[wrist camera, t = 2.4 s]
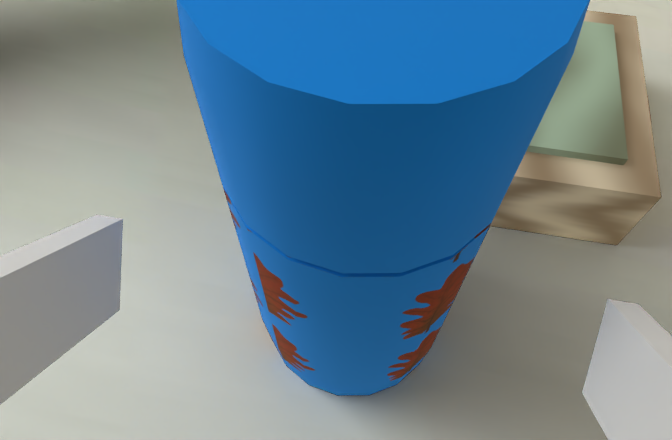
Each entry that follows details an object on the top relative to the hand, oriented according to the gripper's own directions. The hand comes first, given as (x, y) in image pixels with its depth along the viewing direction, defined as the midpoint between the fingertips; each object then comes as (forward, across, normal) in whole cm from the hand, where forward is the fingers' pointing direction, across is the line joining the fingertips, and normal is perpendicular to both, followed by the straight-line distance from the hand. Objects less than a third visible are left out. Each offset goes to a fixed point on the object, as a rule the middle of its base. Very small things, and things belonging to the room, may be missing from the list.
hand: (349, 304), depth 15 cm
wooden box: (+30, +8, +3) cm, 32 cm away
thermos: (+19, -1, -9) cm, 21 cm away
